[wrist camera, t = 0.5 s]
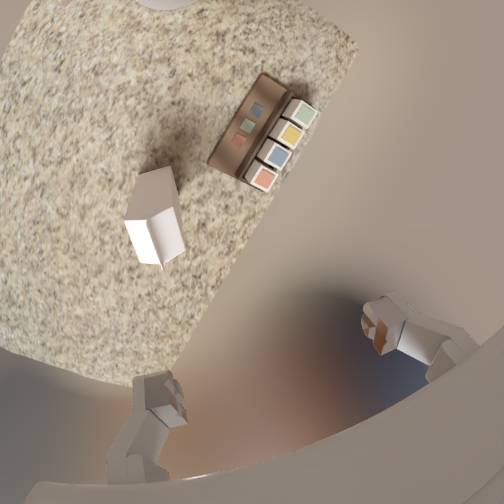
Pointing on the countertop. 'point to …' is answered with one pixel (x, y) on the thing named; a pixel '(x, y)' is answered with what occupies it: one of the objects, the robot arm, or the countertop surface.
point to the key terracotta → (261, 176)
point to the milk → (155, 217)
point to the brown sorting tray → (251, 128)
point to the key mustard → (286, 133)
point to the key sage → (299, 113)
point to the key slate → (274, 154)
